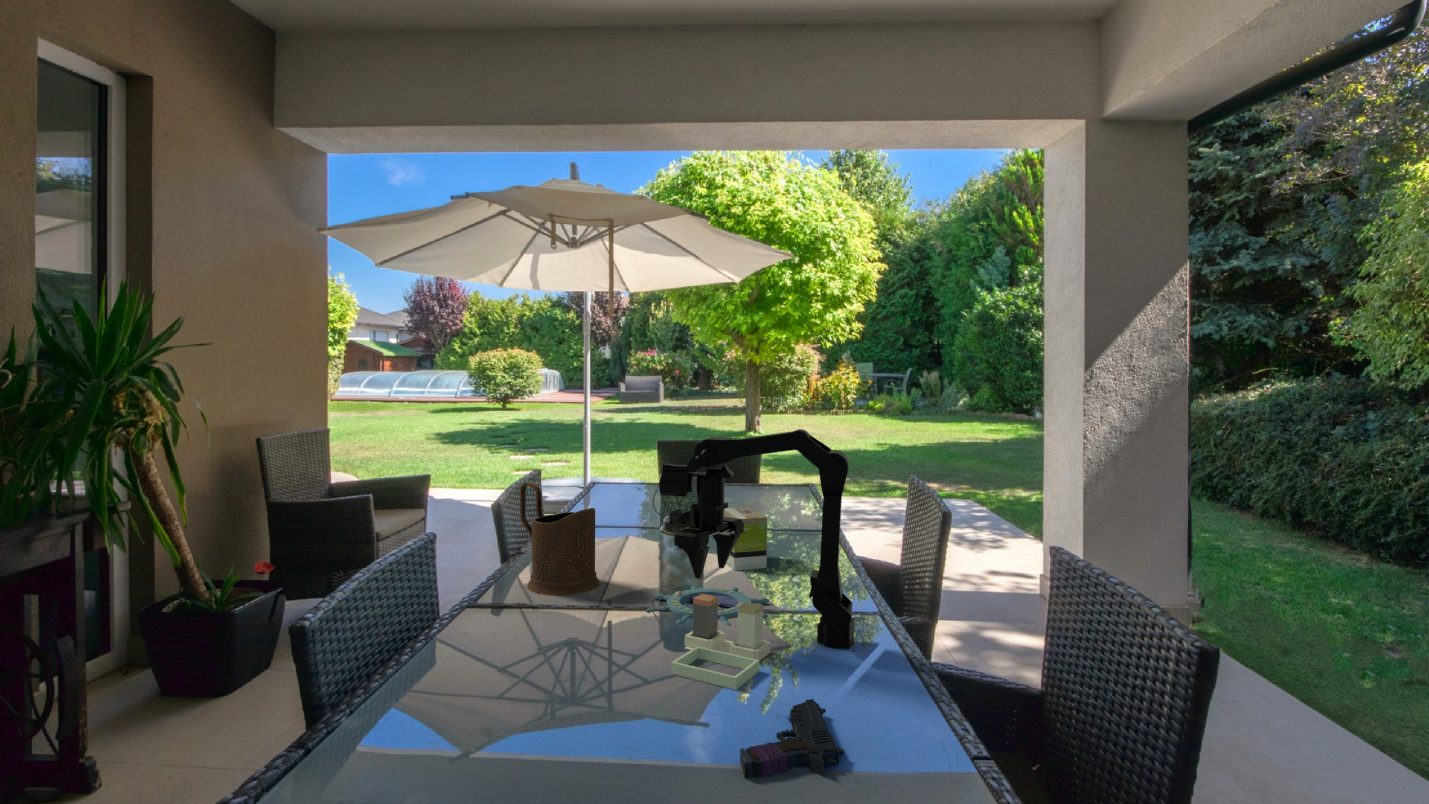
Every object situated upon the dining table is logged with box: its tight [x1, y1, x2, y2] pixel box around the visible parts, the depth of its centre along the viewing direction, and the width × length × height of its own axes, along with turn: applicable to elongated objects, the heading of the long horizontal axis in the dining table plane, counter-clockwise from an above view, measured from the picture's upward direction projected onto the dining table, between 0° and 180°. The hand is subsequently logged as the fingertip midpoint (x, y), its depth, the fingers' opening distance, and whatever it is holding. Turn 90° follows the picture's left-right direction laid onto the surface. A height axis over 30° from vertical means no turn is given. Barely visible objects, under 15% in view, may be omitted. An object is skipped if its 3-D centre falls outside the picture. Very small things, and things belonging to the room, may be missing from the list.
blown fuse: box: [692, 594, 719, 640], centre depth 151 cm, size 4×4×9 cm
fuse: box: [737, 602, 764, 650], centre depth 146 cm, size 4×4×9 cm
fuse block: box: [684, 629, 772, 662], centre depth 149 cm, size 16×8×3 cm, turn 61°
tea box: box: [724, 506, 768, 571], centre depth 217 cm, size 15×10×15 cm, turn 17°
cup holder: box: [519, 482, 601, 597], centre depth 194 cm, size 18×24×25 cm
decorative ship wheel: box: [645, 585, 770, 627], centre depth 176 cm, size 30×3×30 cm
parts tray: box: [670, 646, 760, 691], centre depth 138 cm, size 13×9×3 cm
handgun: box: [739, 698, 845, 779], centre depth 114 cm, size 3×20×15 cm
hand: (709, 573), depth 157 cm, fingers open, 9 cm apart
